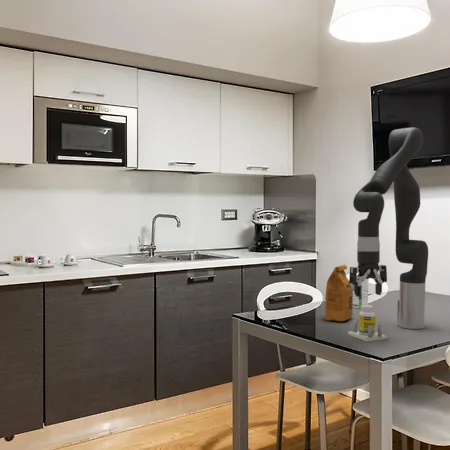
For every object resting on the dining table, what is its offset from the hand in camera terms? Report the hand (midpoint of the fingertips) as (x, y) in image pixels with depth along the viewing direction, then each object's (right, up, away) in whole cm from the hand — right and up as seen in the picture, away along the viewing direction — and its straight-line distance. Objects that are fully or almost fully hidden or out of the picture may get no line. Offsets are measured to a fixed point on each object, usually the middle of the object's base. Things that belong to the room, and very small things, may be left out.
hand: (368, 295), depth 178 cm
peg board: (0, -15, 0) cm, 15 cm away
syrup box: (+11, -13, +55) cm, 57 cm away
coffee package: (-4, -14, +28) cm, 31 cm away
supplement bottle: (0, -14, +1) cm, 14 cm away
